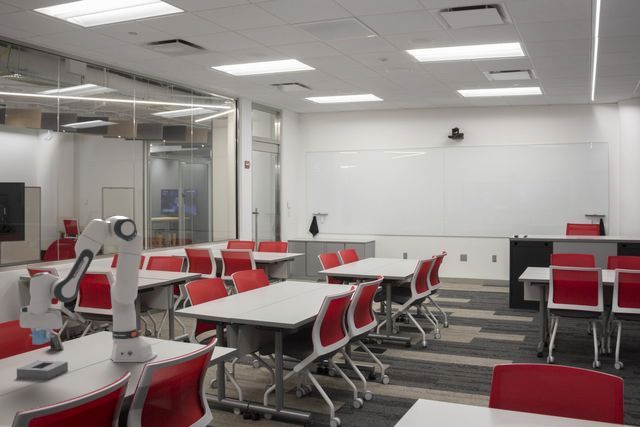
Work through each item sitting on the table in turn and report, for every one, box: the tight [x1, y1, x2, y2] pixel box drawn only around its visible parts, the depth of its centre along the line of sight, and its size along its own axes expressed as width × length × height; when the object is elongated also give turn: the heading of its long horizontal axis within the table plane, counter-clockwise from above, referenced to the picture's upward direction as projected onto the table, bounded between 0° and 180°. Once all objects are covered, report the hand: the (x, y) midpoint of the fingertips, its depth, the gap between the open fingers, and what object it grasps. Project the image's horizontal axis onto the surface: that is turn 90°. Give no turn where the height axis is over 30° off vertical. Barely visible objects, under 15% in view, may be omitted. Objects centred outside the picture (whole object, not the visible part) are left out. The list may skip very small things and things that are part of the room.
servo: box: [28, 328, 54, 345], centre depth 268 cm, size 4×11×7 cm, turn 168°
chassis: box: [16, 359, 69, 381], centre depth 269 cm, size 16×14×4 cm
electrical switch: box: [48, 330, 64, 351], centre depth 313 cm, size 9×5×9 cm, turn 44°
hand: (41, 337), depth 268 cm, fingers closed on servo, 4 cm apart
